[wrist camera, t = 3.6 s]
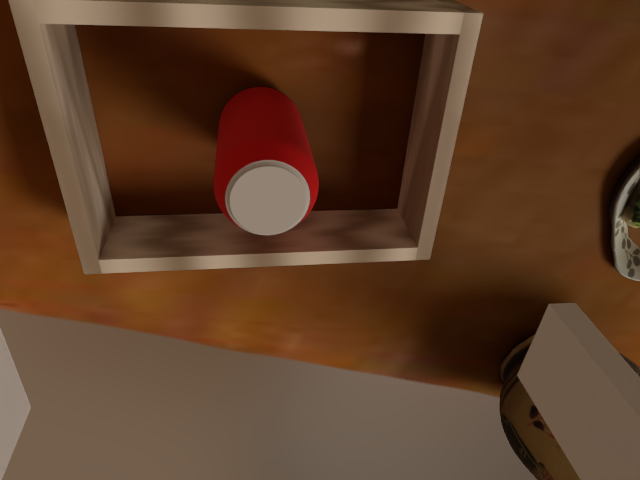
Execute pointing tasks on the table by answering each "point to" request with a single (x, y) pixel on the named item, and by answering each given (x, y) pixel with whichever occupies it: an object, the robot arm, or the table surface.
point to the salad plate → (626, 222)
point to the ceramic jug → (532, 423)
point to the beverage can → (264, 163)
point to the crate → (216, 229)
